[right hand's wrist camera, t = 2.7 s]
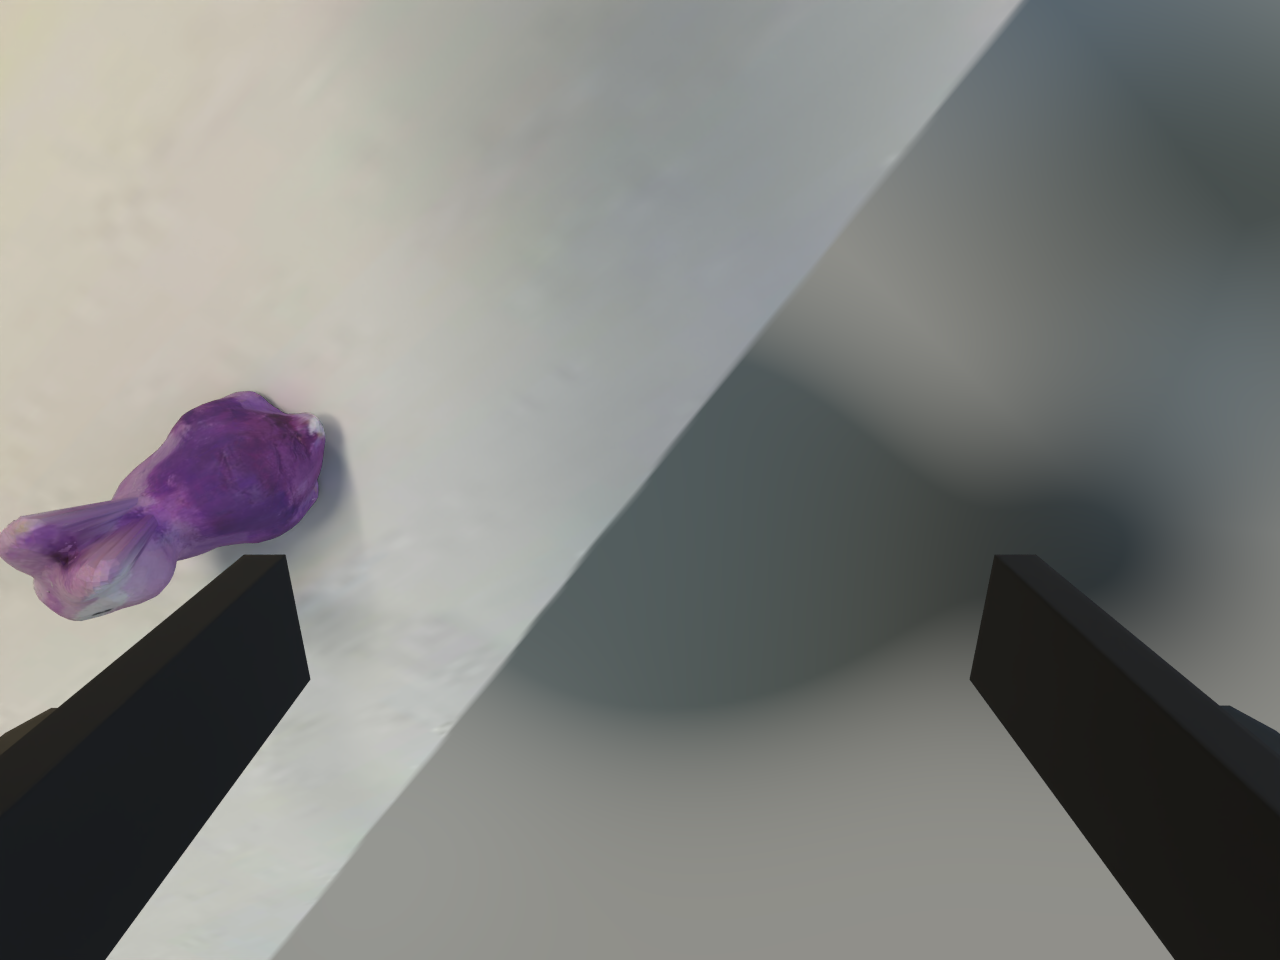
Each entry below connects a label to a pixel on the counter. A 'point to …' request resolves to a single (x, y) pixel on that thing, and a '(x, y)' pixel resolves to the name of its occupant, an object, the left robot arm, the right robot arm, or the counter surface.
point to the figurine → (174, 507)
